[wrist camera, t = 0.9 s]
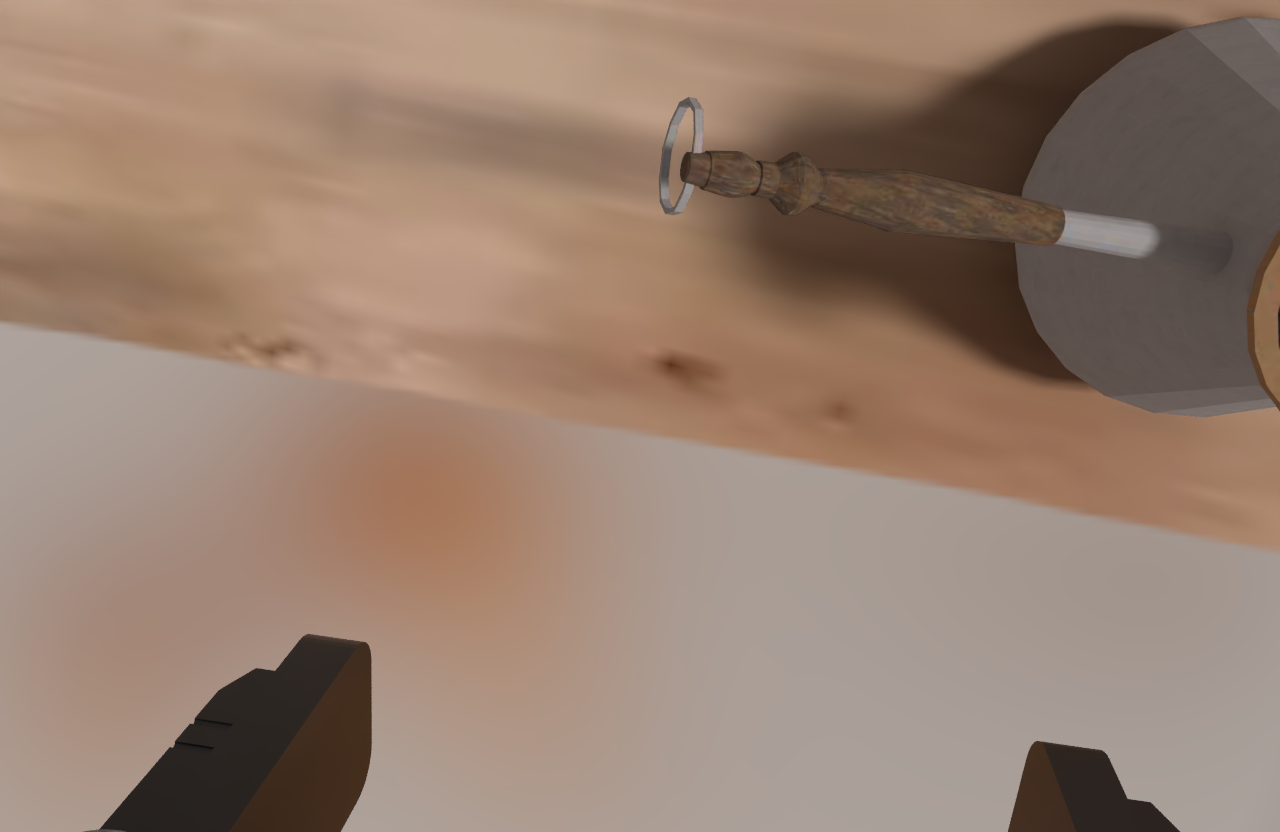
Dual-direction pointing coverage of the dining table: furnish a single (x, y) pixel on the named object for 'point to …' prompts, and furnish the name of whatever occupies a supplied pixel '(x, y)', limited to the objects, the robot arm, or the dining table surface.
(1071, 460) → the dining table surface
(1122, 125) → the coffee pot
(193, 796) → the robot arm
